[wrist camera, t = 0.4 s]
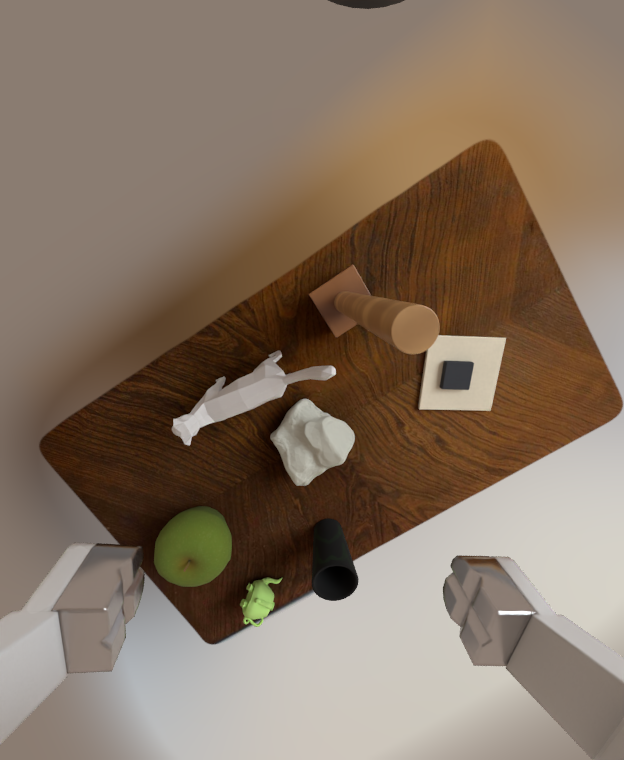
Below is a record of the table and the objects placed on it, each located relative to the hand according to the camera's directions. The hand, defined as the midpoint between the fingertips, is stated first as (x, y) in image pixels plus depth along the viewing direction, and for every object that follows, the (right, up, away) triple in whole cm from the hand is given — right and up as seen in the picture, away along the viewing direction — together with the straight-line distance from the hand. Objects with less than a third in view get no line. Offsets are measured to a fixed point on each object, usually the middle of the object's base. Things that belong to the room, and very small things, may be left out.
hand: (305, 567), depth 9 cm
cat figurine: (-7, +6, +38) cm, 39 cm away
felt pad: (+21, +6, +39) cm, 44 cm away
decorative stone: (-1, -3, +41) cm, 41 cm away
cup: (+3, -20, +46) cm, 50 cm away
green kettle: (-9, -31, +49) cm, 58 cm away
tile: (+22, +6, +39) cm, 45 cm away
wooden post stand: (+4, +15, +35) cm, 39 cm away
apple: (-17, -17, +44) cm, 50 cm away
